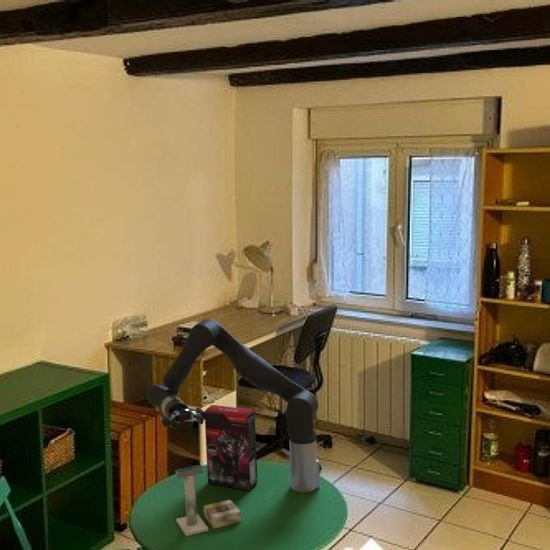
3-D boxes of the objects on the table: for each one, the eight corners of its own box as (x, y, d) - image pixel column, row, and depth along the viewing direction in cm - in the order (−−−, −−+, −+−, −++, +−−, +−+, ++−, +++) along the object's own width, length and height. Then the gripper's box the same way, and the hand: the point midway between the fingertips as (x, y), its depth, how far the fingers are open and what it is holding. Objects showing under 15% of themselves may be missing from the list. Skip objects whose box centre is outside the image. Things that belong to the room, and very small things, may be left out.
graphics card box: (206, 484, 251) (202, 410, 247) (215, 476, 257) (212, 403, 253) (250, 491, 245) (247, 415, 240) (258, 483, 251) (256, 408, 247)
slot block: (230, 509, 232) (230, 499, 232) (240, 521, 224) (240, 511, 224) (204, 516, 229) (203, 505, 228) (213, 528, 220) (213, 518, 220)
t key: (202, 517, 225) (199, 463, 222) (205, 522, 222) (203, 467, 220) (177, 523, 222) (174, 469, 219) (180, 528, 219) (177, 473, 216)
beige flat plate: (197, 516, 228) (197, 513, 228) (208, 530, 219) (207, 527, 219) (176, 521, 225) (176, 518, 225) (186, 536, 216) (186, 533, 216)
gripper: (153, 402, 244) (167, 416, 229) (193, 395, 250) (209, 409, 235) (155, 423, 245) (168, 438, 230) (194, 416, 251) (210, 430, 236)
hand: (189, 423), depth 233 cm, fingers open, 8 cm apart
